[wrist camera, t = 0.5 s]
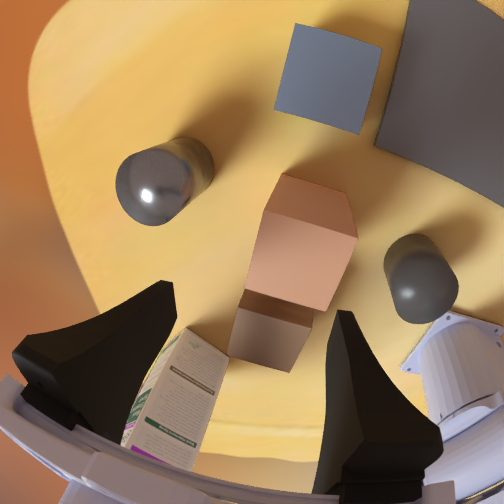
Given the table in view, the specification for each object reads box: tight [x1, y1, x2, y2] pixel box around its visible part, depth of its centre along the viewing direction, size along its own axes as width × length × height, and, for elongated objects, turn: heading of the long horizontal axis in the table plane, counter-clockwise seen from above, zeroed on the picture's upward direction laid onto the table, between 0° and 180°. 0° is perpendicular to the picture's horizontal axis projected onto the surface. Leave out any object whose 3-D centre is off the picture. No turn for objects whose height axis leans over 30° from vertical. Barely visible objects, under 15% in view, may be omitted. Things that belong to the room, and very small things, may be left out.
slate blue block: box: [274, 23, 382, 135], centre depth 14 cm, size 4×5×4 cm
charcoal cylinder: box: [384, 234, 459, 324], centre depth 18 cm, size 5×5×4 cm
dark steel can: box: [116, 138, 214, 226], centre depth 18 cm, size 4×4×6 cm
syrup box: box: [120, 328, 229, 472], centre depth 24 cm, size 6×6×14 cm
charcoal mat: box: [374, 0, 504, 208], centre depth 13 cm, size 14×14×1 cm
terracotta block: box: [244, 174, 358, 312], centre depth 17 cm, size 4×4×7 cm
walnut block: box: [226, 288, 313, 373], centre depth 22 cm, size 5×5×5 cm
